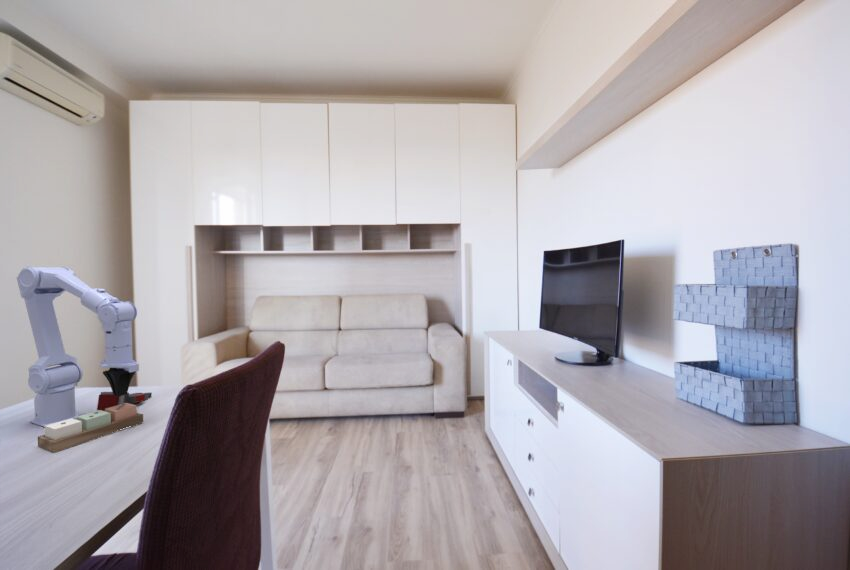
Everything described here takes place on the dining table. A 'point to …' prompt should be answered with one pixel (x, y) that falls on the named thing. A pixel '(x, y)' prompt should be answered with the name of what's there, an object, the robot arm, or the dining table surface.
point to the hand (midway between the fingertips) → (120, 394)
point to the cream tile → (63, 429)
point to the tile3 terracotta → (122, 411)
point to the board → (87, 434)
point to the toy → (119, 399)
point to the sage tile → (94, 419)
